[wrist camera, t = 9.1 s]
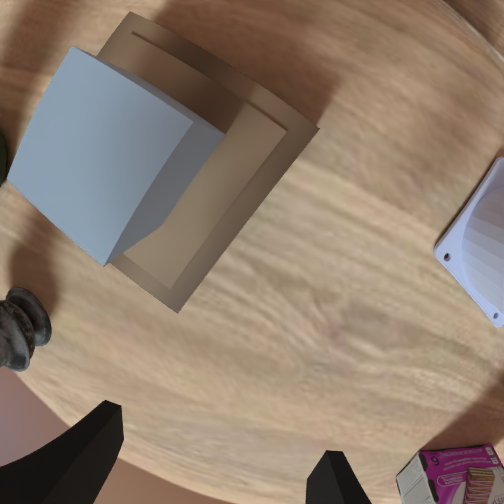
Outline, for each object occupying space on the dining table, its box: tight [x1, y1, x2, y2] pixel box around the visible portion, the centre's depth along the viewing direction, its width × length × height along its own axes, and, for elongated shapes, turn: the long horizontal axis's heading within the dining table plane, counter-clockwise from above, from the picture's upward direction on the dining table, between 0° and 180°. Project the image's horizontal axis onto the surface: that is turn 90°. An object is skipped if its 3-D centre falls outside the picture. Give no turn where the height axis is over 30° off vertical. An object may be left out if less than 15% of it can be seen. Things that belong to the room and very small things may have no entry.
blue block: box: [7, 46, 226, 267], centre depth 11 cm, size 5×5×6 cm
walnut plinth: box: [97, 12, 320, 314], centre depth 15 cm, size 11×11×3 cm
